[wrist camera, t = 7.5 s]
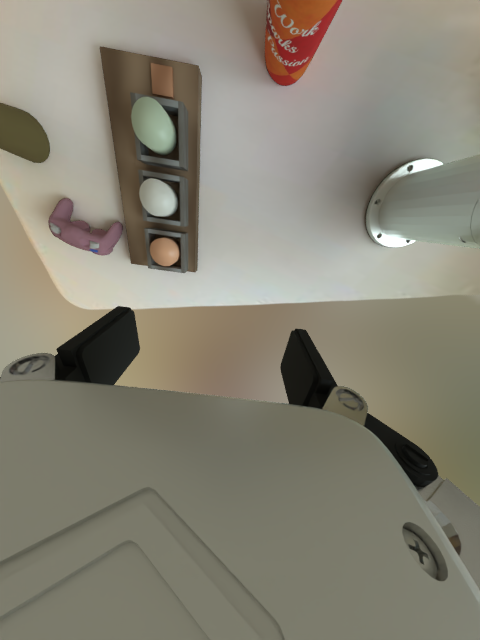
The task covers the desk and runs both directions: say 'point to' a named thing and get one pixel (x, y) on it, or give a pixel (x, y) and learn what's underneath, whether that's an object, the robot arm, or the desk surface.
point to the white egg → (158, 198)
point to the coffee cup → (295, 35)
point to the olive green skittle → (22, 134)
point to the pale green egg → (153, 126)
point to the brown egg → (165, 251)
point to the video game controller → (82, 231)
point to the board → (142, 163)
